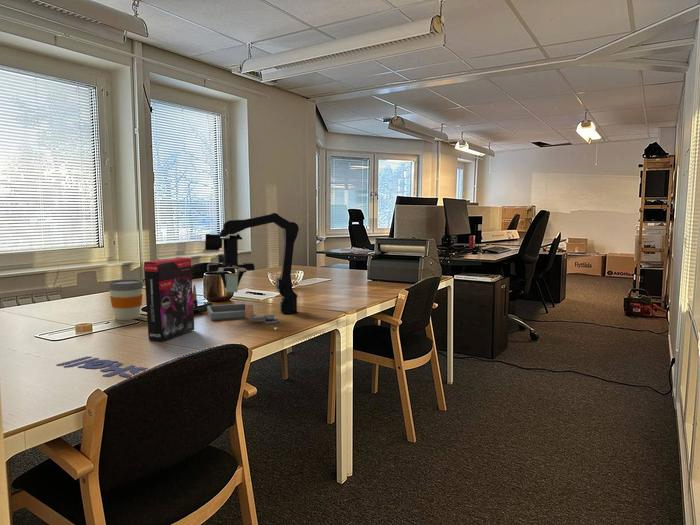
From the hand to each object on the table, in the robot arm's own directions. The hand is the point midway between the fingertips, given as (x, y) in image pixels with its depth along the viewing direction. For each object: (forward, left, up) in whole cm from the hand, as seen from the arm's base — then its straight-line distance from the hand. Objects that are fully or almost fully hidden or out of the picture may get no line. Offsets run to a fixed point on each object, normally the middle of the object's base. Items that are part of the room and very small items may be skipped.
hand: (231, 287), depth 201 cm
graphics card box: (+25, +25, -12) cm, 37 cm away
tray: (+1, -1, -12) cm, 12 cm away
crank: (-9, +17, -11) cm, 22 cm away
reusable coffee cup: (+41, -10, -12) cm, 44 cm away
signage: (+43, +55, -13) cm, 71 cm away
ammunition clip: (+18, -12, -12) cm, 25 cm away
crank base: (-12, +21, -12) cm, 28 cm away
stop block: (0, 0, -2) cm, 2 cm away
